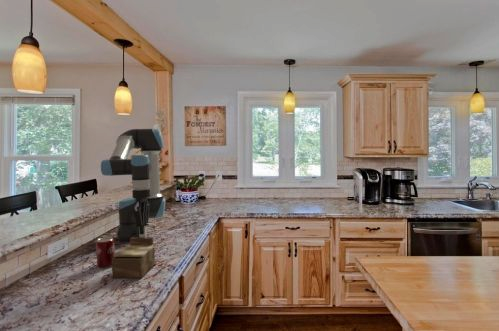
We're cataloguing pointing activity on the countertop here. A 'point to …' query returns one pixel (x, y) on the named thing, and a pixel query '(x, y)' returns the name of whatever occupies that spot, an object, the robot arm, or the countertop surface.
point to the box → (133, 266)
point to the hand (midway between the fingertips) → (143, 240)
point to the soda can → (105, 252)
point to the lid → (136, 248)
